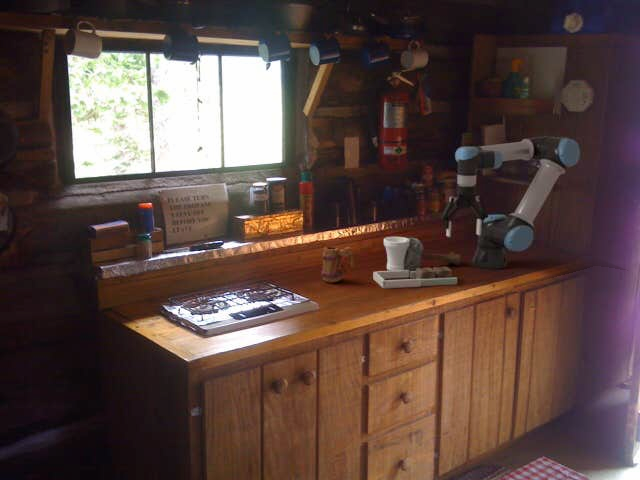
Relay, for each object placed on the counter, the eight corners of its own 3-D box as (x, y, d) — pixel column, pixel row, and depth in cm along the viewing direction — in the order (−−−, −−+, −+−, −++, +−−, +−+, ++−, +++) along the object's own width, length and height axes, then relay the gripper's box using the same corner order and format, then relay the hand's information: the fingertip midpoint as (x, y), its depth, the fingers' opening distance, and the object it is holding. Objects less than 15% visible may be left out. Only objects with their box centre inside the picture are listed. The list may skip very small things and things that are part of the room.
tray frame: (407, 276, 296) (408, 270, 295) (419, 286, 283) (420, 279, 282) (373, 278, 292) (373, 271, 292) (383, 288, 279) (383, 281, 278)
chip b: (429, 279, 294) (429, 267, 293) (434, 283, 288) (435, 271, 287) (415, 279, 292) (416, 268, 291) (420, 283, 287) (421, 272, 286)
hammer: (463, 273, 312) (409, 271, 297) (448, 272, 321) (395, 270, 306) (464, 240, 312) (411, 237, 298) (449, 240, 321) (397, 237, 306)
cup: (378, 268, 307) (379, 237, 304) (401, 266, 311) (402, 235, 308) (389, 275, 297) (390, 243, 294) (412, 273, 301) (414, 241, 297)
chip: (445, 278, 295) (446, 266, 294) (451, 282, 290) (452, 270, 289) (432, 278, 294) (433, 267, 293) (437, 282, 288) (438, 271, 287)
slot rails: (444, 275, 299) (445, 269, 298) (457, 284, 287) (457, 278, 286) (409, 277, 295) (409, 271, 295) (420, 286, 283) (420, 280, 283)
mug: (317, 282, 286) (317, 246, 282) (323, 277, 293) (324, 242, 290) (351, 286, 281) (352, 250, 277) (357, 281, 288) (358, 246, 285)
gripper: (489, 182, 291) (486, 231, 296) (434, 184, 285) (432, 234, 290) (498, 185, 284) (495, 236, 289) (441, 187, 278) (439, 239, 283)
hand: (463, 235), depth 290 cm, fingers open, 13 cm apart
